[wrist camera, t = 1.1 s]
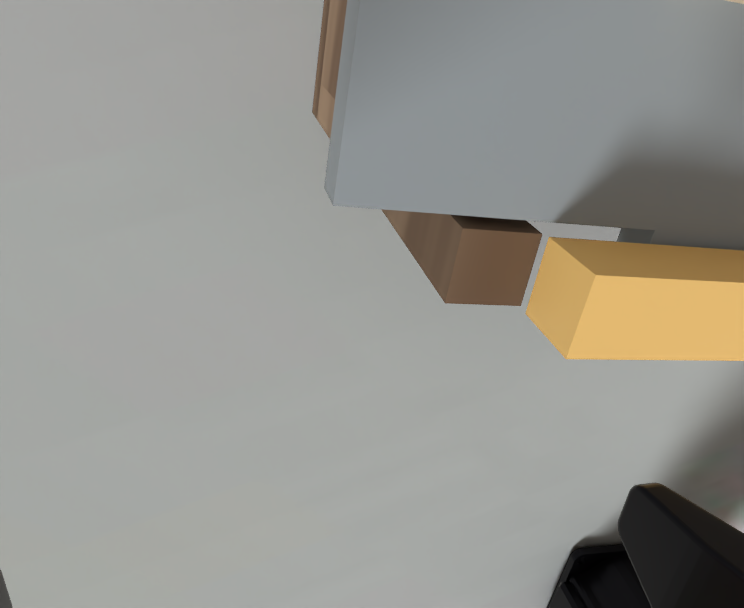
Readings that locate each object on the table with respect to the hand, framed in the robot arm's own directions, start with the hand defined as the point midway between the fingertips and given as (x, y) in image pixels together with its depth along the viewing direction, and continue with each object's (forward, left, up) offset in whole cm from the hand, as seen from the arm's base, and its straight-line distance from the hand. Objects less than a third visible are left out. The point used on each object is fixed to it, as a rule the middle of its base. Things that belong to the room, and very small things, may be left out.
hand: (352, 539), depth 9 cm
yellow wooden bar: (-10, -2, -6) cm, 12 cm away
